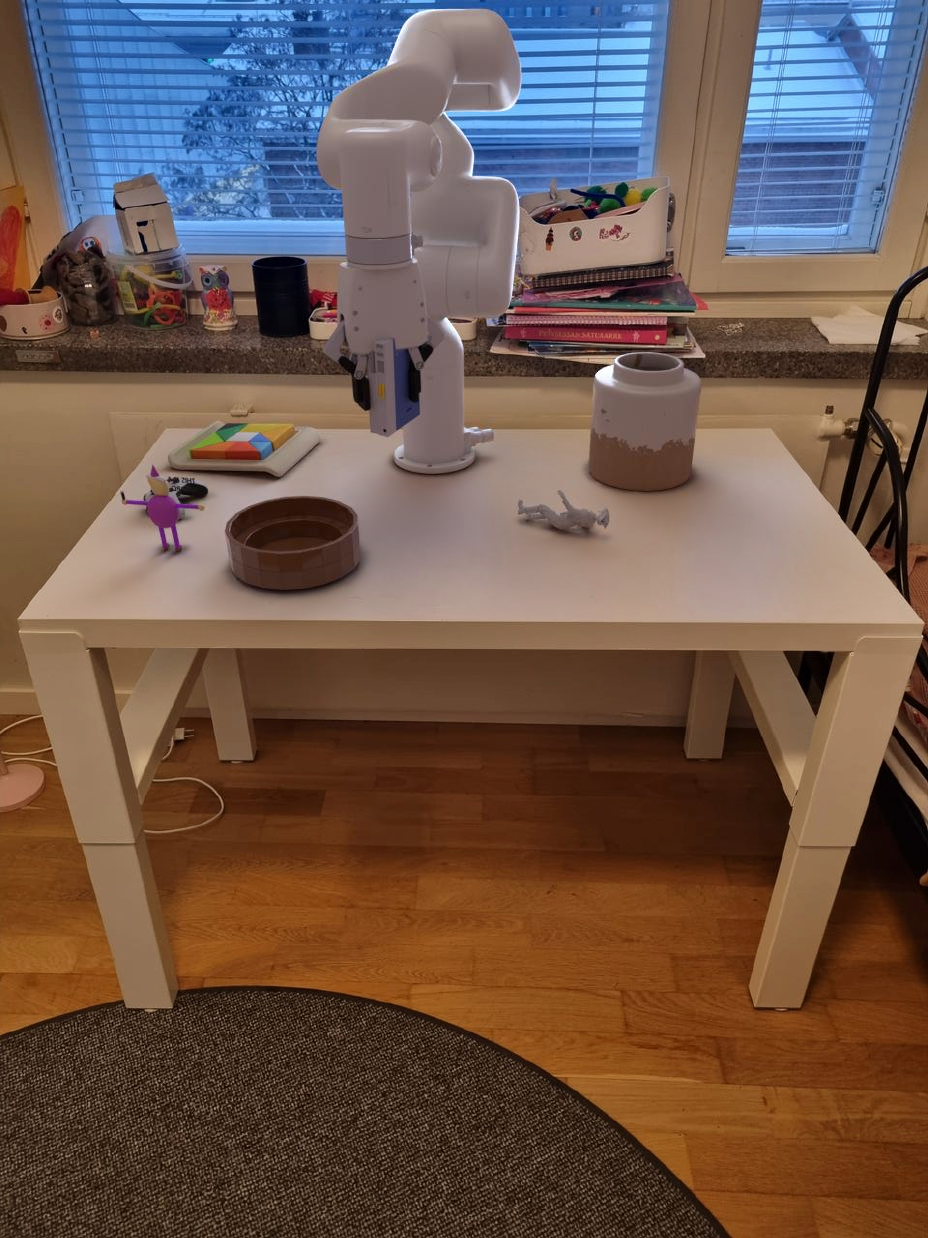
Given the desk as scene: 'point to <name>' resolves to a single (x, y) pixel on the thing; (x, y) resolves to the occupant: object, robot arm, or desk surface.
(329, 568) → the bowl
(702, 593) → the desk surface
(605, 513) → the soldier figure
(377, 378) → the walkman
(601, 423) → the vase
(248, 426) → the wooden puzzle
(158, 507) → the wizard figurine
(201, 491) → the game controller
